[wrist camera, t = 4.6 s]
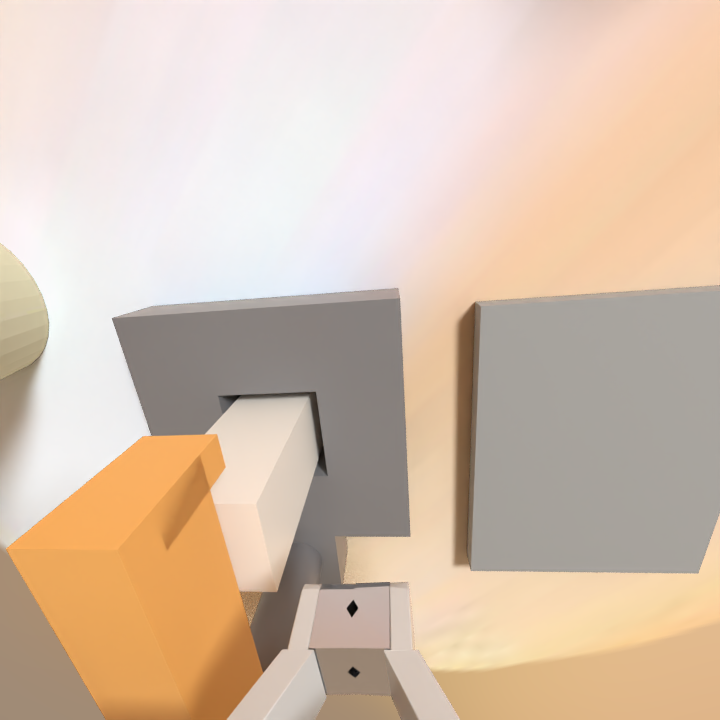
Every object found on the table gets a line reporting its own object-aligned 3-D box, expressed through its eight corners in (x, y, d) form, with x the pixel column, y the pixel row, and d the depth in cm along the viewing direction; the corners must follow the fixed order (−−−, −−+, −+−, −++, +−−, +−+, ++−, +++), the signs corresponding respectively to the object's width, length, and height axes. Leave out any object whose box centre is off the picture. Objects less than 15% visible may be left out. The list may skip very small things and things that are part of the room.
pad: (467, 555, 24) (470, 570, 23) (475, 301, 18) (481, 306, 17) (682, 556, 23) (698, 573, 21) (772, 282, 16) (800, 285, 15)
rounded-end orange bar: (233, 718, 16) (184, 871, 12) (131, 436, 10) (-12, 548, 7) (301, 722, 15) (273, 881, 12) (229, 433, 10) (137, 549, 6)
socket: (223, 548, 26) (123, 737, 16) (151, 306, 19) (-83, 376, 10) (409, 549, 24) (424, 757, 15) (398, 288, 18) (409, 350, 8)
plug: (264, 438, 22) (172, 590, 13) (253, 382, 21) (139, 504, 11) (325, 436, 21) (276, 592, 12) (317, 379, 20) (255, 503, 11)
